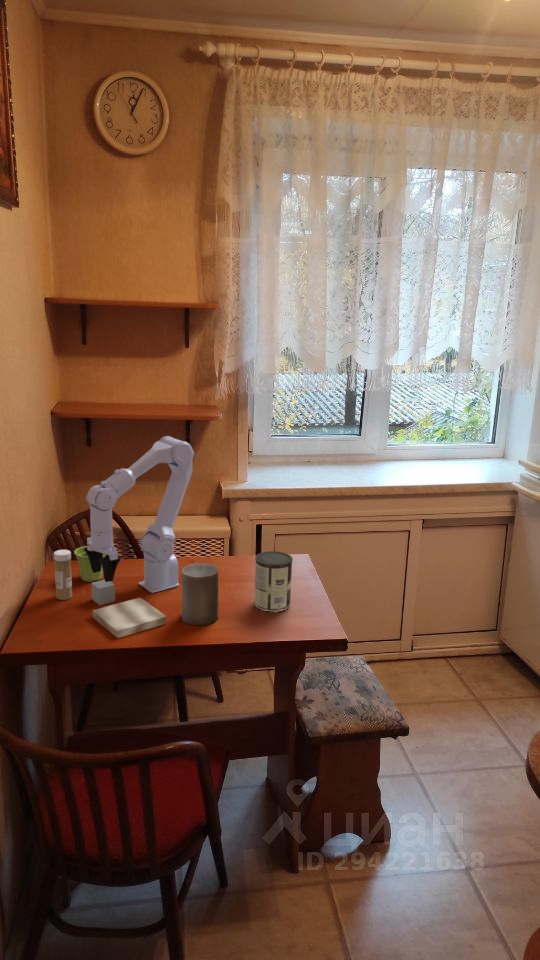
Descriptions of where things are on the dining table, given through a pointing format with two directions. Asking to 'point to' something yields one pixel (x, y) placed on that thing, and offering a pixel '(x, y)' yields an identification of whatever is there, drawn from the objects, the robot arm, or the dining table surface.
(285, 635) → the dining table surface
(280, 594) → the coffee can
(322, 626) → the dining table surface
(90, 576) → the plant pot
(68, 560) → the sprinkles bottle
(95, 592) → the grey block
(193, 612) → the pillar candle
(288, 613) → the dining table surface
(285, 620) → the dining table surface
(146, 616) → the birch base
